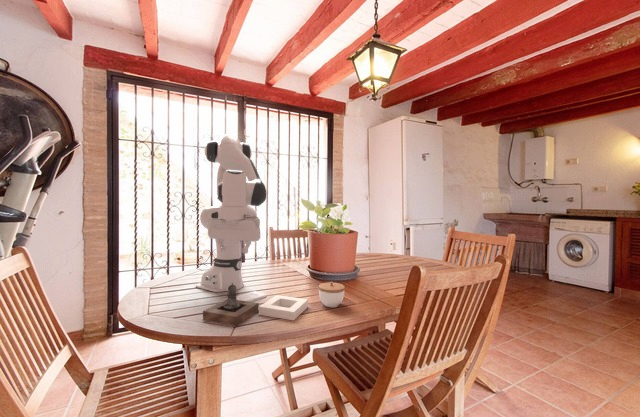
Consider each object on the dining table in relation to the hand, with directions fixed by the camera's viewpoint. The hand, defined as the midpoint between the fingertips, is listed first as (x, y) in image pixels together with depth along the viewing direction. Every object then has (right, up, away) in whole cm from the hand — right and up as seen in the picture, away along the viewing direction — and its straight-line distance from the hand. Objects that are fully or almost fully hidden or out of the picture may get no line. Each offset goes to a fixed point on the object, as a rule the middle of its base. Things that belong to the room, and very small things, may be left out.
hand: (233, 252), depth 106 cm
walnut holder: (-1, -23, +1) cm, 23 cm away
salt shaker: (-1, -24, +1) cm, 24 cm away
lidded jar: (+36, -24, +14) cm, 45 cm away
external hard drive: (+1, -24, +19) cm, 30 cm away
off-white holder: (+18, -24, +6) cm, 30 cm away
